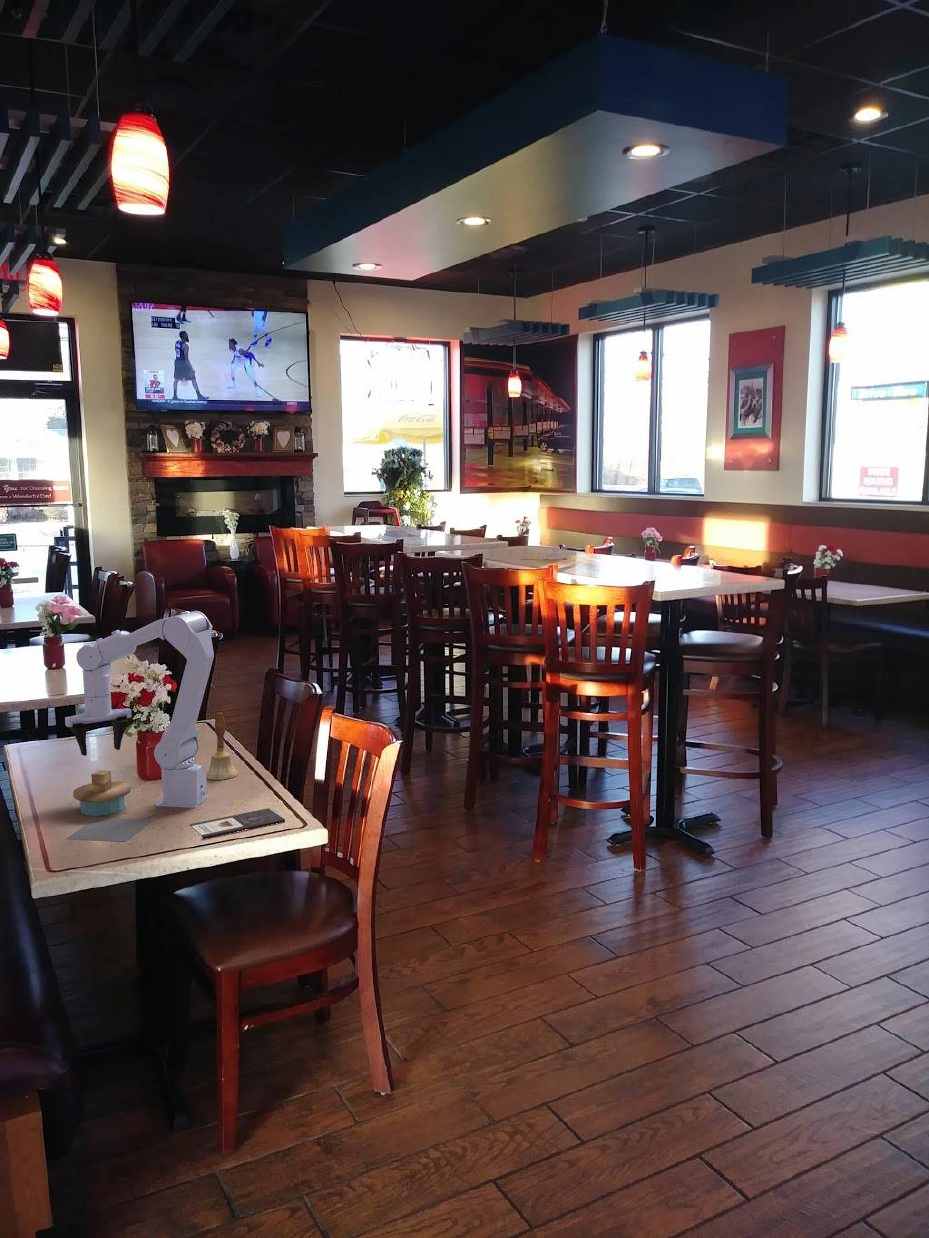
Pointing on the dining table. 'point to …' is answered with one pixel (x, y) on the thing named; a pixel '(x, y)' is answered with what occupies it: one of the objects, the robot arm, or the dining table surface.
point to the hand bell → (220, 755)
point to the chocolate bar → (237, 823)
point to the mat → (110, 829)
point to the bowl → (102, 807)
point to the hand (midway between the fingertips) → (100, 751)
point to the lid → (101, 788)
